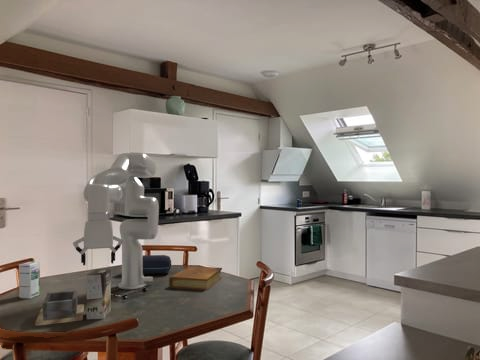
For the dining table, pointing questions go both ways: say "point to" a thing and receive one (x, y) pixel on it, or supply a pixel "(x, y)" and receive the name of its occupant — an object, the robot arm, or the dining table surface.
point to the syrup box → (29, 280)
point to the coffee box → (98, 293)
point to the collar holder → (60, 308)
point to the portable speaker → (156, 264)
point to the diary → (195, 278)
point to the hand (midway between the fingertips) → (98, 263)
